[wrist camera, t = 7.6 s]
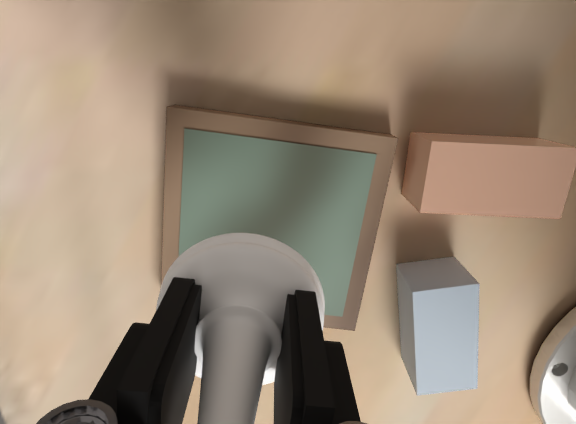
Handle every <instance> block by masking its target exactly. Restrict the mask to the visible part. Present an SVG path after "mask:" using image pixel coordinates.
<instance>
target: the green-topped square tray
mask: <svg viewBox="0 0 576 424" xmlns="http://www.w3.org/2000/svg"><path fill="white" fill-rule="evenodd" d="M397 142H398V138H397V137H395V136H393V135H391V134H384V133H377V132H369V131H362V130H355V129H347V128H340V127H333V126H326V125H318V124H311V123H304V122H296V121H289V120H282V119H275V118H267V117H260V116H253V115H245V114H238V113H231V112H224V111H216V110H209V109H202V108H194V107H187V106H180V105H172V106H168V107H167V113H166V145H165V178H164V211H163V244H162V277H161V285H162V282H163V279H164V277H165V275H166V273H167V271H168V270H169V268H170V266H171V265H172V264H173V263H174V261H175V260H176V259H177V258H178V257H179V256H180V255H181V254H182V253H183V252H185V251H186V250H187V249H189V248H190V247H192V246H193V245H195V244H197V243H199V242H201V241H203V240H205V239H208V238H211V237H214V236H218V235H222V234H229V233H252V234H258V235H263V236H266V237H270V238H273V239H275V240H278V241H280V242H282V243H284V244H286V245H288V246H289V247H291V248H292V249H294V250H295V251H296V252H298V253H299V254H300V255H301V256H302V257H303V258H304V259H305V260H306V261H307V262H308V263H309V264H310V265H311V267H312V268H313V270H314V271H315V273H316V274H317V276H318V278H319V281H320V283H321V286H322V289H323V293H324V300H325V311H324V326H323V327H325V328H334V329H343V330H352V331H355V327H356V322H357V318H358V314H359V309H360V305H361V300H362V296H363V292H364V287H365V283H366V278H367V274H368V270H369V265H370V261H371V256H372V252H373V248H374V243H375V239H376V234H377V230H378V226H379V221H380V217H381V212H382V208H383V203H384V199H385V195H386V190H387V186H388V181H389V177H390V173H391V168H392V164H393V159H394V155H395V151H396V146H397Z"/></svg>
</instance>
